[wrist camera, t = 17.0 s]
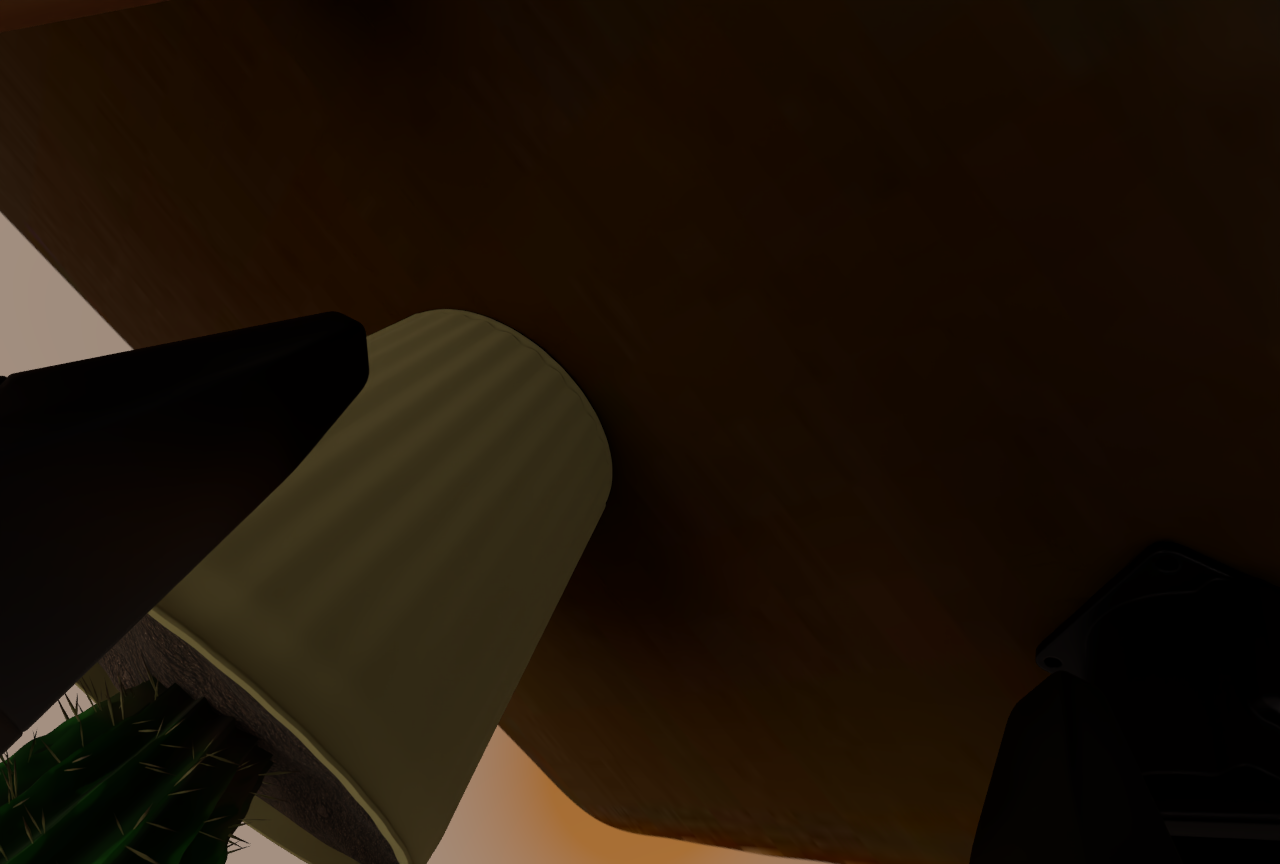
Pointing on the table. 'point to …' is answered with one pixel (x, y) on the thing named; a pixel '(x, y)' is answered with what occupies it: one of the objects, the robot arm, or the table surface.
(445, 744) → the potted cactus
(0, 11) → the copper tin
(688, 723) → the table surface
